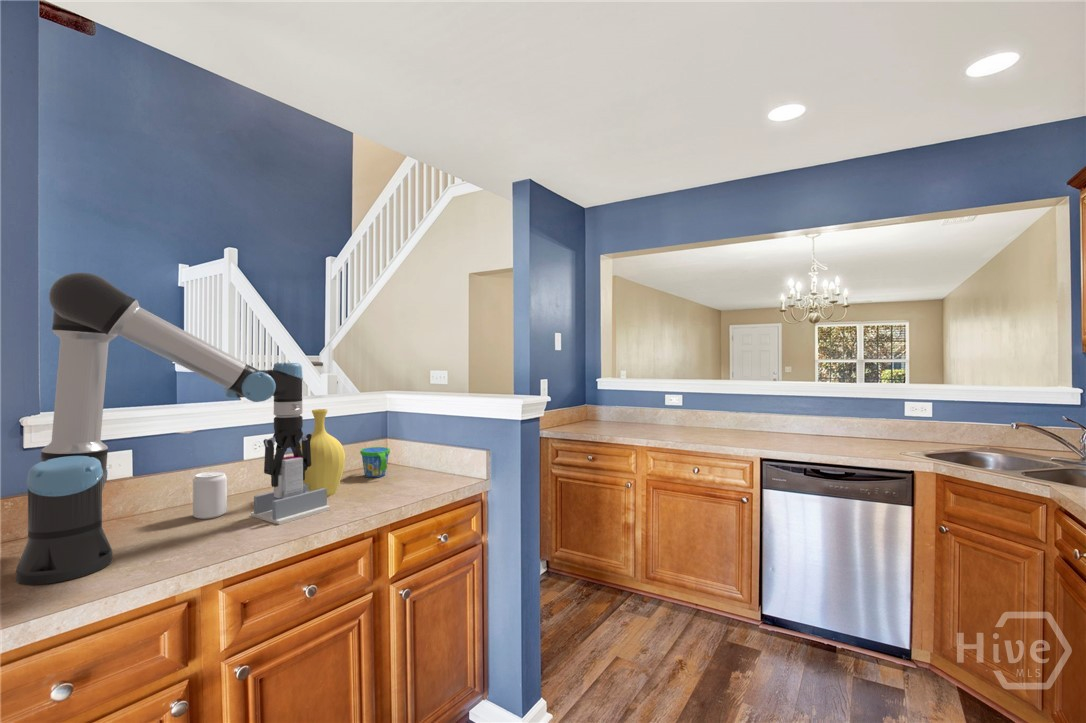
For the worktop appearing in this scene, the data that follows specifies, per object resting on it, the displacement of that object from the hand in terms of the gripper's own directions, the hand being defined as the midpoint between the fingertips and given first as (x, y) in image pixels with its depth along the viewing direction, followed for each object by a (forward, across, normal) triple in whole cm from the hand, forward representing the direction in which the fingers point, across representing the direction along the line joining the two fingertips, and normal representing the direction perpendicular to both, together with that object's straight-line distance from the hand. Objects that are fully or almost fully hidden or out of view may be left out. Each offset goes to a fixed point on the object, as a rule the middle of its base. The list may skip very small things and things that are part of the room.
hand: (288, 494), depth 148 cm
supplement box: (+1, 0, 0) cm, 1 cm away
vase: (+6, +18, +11) cm, 22 cm away
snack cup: (+6, +45, +15) cm, 47 cm away
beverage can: (+6, -13, +17) cm, 22 cm away
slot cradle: (+6, +1, 0) cm, 6 cm away
